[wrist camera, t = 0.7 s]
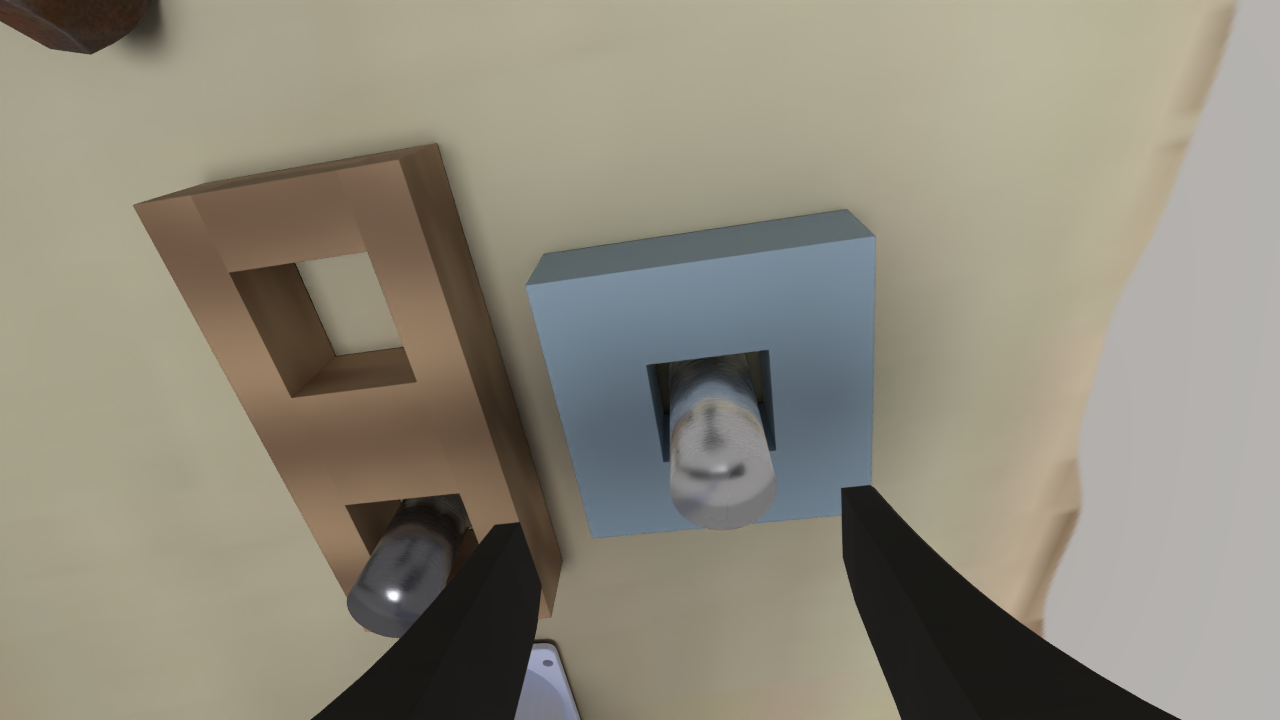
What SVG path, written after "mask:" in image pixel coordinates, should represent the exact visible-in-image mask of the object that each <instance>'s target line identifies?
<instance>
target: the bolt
mask: <svg viewBox="0 0 1280 720" xmlns="http://www.w3.org/2000/svg"><path fill="white" fill-rule="evenodd" d="M150 2H151V0H0V21H1V22H3V23H5V24H6V25H8V26H10V27H12V28H14V29H15V30H17V31H19V32H21V33H23V34H24V35H26V36H28V37H30V38H32V39H33V40H35V41H37V42H39V43H41V44H42V45H44V46H46V47H48V48H50V49H54V50H62V51H69V52H76V53H83V54H90V55H91V54H93V53H95V52H97V51H99V50H101V49H103V48H105V47H107V46H109V45H111V44H113V43H115V42H116V41H118V40H119V39H121V38H122V37H124V36H125V35H127V34H128V33H129V32H131V31H132V30H133V29H134V28H135V27H136V26H137V25H138V24H139V23H140V22H141V21H142V20H143V19H144V17H145V15H146V14H147V12H148V10H149V6H150Z"/></svg>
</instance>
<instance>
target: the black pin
mask: <svg viewBox="0 0 1280 720" xmlns="http://www.w3.org/2000/svg"><path fill="white" fill-rule="evenodd" d="M470 523H471V522H470V519H469V517H468V514H467V511H466V509H465V506H464V503H463V501H462V498H461V496H460V493H456V494H447V495H437V496H427V497H418V498H408V499H403V501H402V503H401V504H400V506H399V508H398V510H397V511H396V513H395V515H394V517H393V518H392V520H391V522H390V523H389V525H388V527H387V529H386V530H385V532H384V534H383V536H382V537H381V539H380V541H379V542H378V544H377V546H376V548H375V549H374V551H373V553H372V555H371V556H370V558H369V560H368V561H367V563H366V565H365V567H364V568H363V570H362V572H361V574H360V575H359V577H358V579H357V580H356V582H355V584H354V586H353V587H352V589H351V591H350V593H349V594H348V597H347V607H348V610H349V612H350V614H351V615H352V617H353V618H354V619H355V620H356V621H357V622H358V623H359V624H360V625H361V626H363V627H364V628H366V629H367V630H369V631H371V632H374V633H376V634H379V635H382V636H386V637H392V638H401V637H402V636H403V635H404V634H405V633H406V632H407V630H408V629H409V628H410V627H411V626H412V625H413V624H414V623H415V621H416V620H417V619H418V618H419V617H420V616H421V615H422V613H423V612H424V611H425V610H426V609H427V608H428V607H429V606H430V604H431V603H432V602H433V601H434V600H435V599H436V597H437V596H438V595H439V594H440V593H441V591H442V590H443V589H444V586H445V584H446V582H447V579H448V577H449V574H450V572H451V569H452V567H453V565H454V562H455V560H456V557H457V555H458V552H459V550H460V547H461V545H462V543H463V540H464V538H465V535H466V533H467V530H468V528H469V526H470Z"/></svg>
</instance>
